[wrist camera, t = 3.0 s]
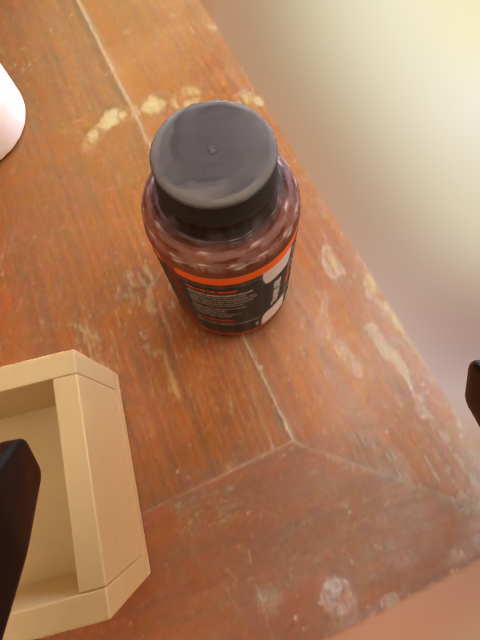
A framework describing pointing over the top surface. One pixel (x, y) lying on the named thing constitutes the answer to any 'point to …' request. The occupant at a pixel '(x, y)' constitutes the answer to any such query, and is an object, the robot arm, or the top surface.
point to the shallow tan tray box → (74, 495)
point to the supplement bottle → (222, 215)
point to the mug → (10, 113)
